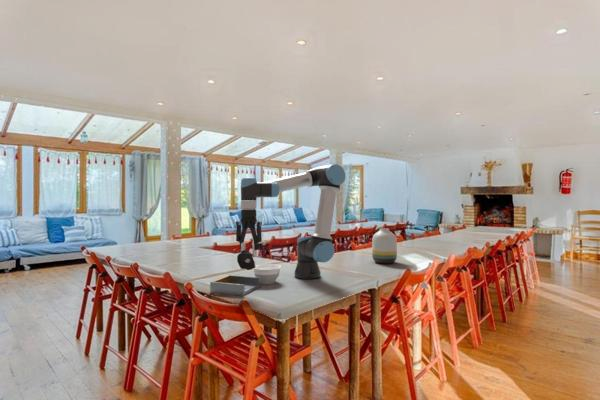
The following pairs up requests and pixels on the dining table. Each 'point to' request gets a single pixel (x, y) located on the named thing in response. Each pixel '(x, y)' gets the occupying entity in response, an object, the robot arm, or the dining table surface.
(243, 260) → the rock
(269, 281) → the bowl
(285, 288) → the dining table surface
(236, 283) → the grey hollow tray
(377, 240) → the vase
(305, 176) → the robot arm
